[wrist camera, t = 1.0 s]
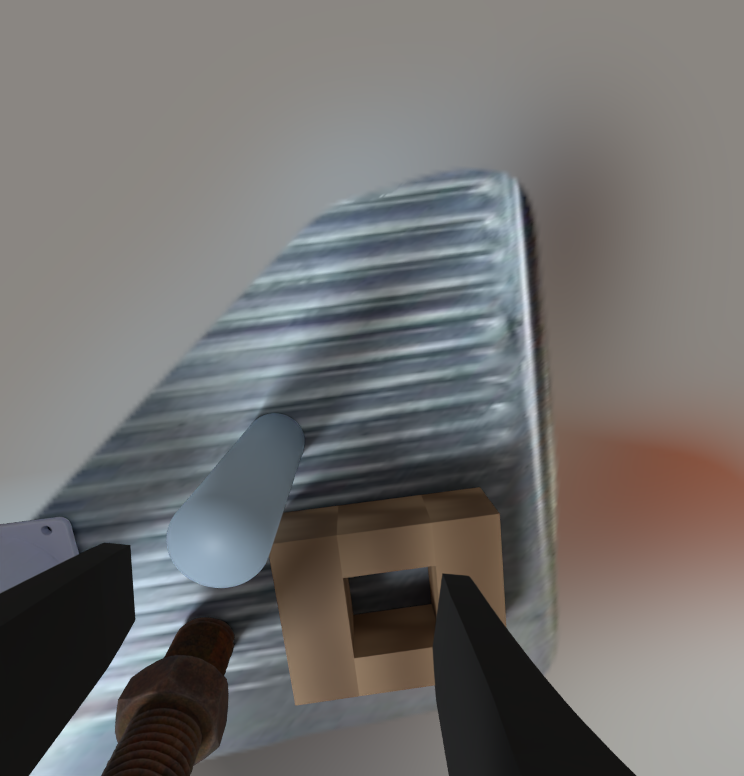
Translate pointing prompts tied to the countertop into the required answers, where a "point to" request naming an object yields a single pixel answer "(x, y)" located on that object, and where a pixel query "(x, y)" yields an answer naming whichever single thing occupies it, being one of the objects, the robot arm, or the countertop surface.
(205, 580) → the dowel
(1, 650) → the robot arm
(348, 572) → the hole block
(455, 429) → the countertop surface
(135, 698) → the bolt
